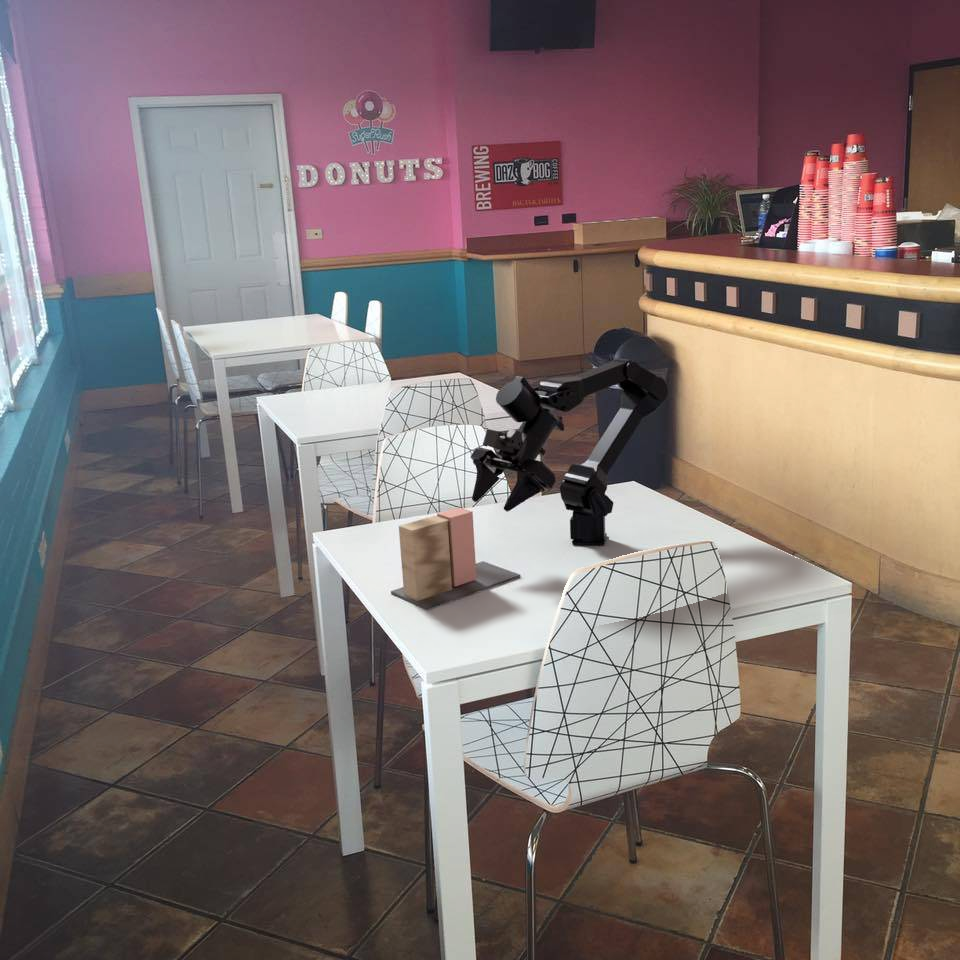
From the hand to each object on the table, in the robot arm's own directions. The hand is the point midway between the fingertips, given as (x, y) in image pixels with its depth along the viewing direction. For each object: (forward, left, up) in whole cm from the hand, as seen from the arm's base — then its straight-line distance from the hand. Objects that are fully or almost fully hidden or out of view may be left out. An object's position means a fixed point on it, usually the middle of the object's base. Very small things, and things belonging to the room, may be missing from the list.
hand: (489, 505), depth 190 cm
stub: (+5, +6, -13) cm, 15 cm away
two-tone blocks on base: (+6, +7, -13) cm, 16 cm away
